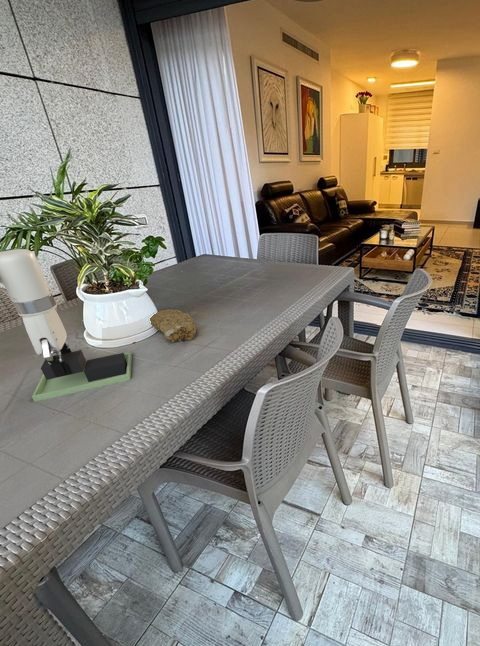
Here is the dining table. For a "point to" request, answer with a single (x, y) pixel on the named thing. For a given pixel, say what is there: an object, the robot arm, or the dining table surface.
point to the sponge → (174, 324)
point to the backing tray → (75, 383)
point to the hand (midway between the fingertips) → (66, 368)
